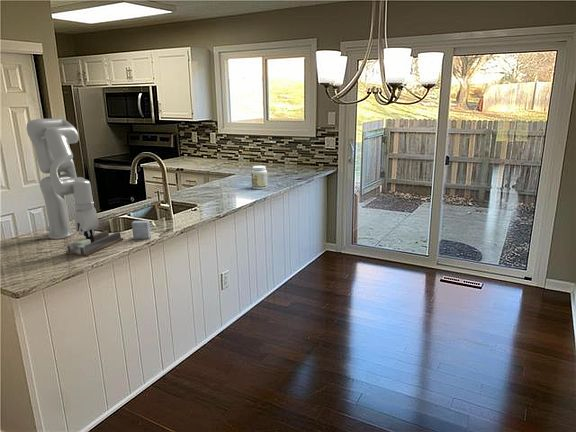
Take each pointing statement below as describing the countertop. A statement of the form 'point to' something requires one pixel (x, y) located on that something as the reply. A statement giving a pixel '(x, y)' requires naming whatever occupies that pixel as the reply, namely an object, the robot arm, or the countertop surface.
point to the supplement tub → (259, 177)
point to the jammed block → (82, 242)
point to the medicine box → (141, 230)
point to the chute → (95, 244)
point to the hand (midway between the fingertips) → (90, 243)
